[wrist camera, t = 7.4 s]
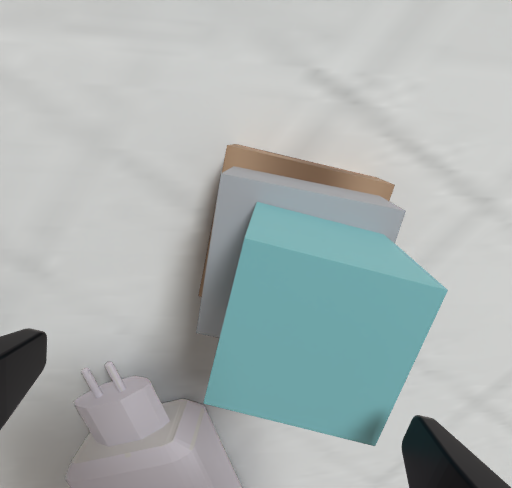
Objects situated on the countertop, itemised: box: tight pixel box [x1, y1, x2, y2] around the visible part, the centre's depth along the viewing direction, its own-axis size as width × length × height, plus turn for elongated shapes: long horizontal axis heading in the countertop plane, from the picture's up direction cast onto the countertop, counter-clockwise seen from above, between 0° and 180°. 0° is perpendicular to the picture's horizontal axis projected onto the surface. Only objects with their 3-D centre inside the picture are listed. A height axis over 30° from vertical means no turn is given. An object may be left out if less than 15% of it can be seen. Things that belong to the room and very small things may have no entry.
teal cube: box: [203, 202, 448, 446], centre depth 11 cm, size 5×5×5 cm
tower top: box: [196, 166, 406, 338], centre depth 15 cm, size 7×7×4 cm
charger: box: [65, 361, 242, 488], centre depth 23 cm, size 5×9×15 cm
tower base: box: [199, 144, 395, 297], centre depth 18 cm, size 8×8×4 cm
